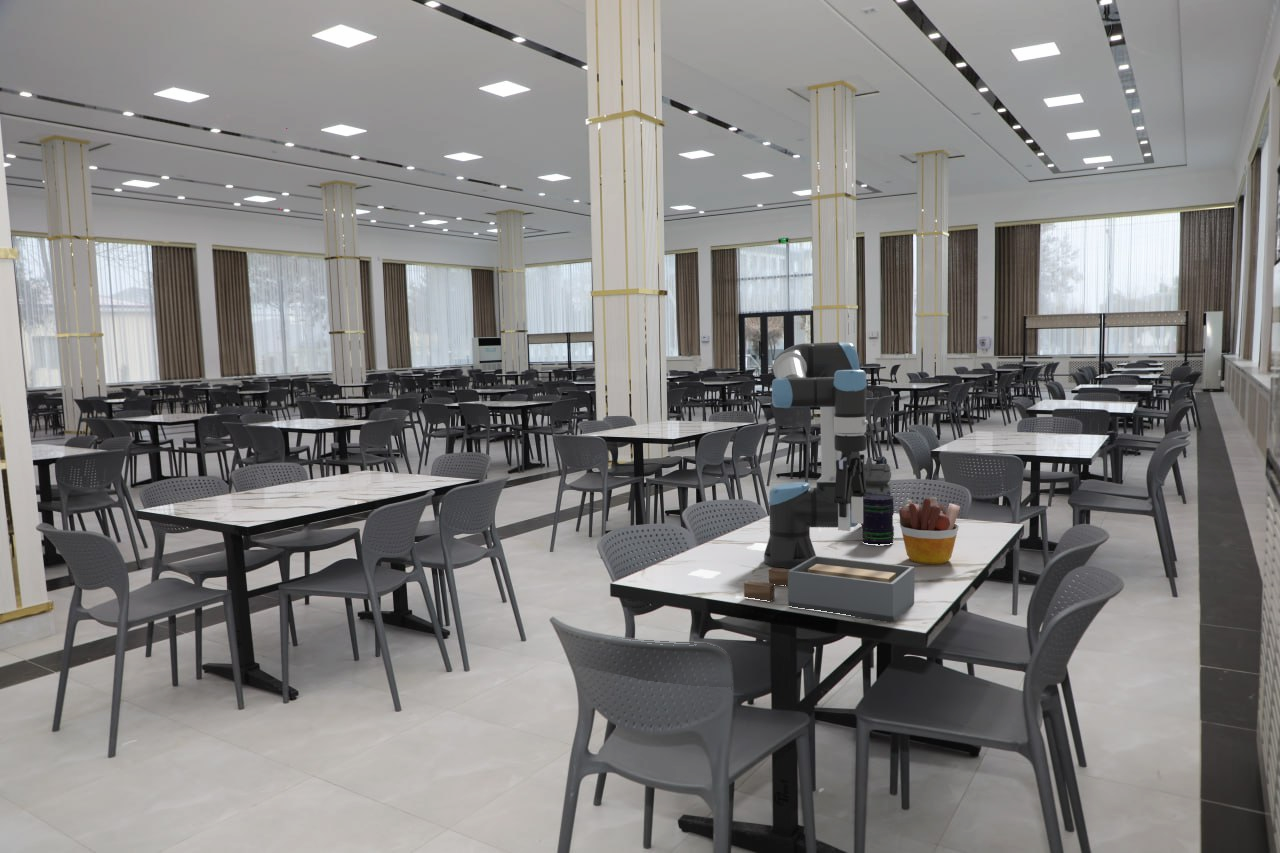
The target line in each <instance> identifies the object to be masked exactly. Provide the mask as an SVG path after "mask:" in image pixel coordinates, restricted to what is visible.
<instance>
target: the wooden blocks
mask: <svg viewBox="0 0 1280 853" xmlns="http://www.w3.org/2000/svg"><path fill="white" fill-rule="evenodd" d="M789 570H791V568H780V567H774V566H772V567H771V568H769V569H768V582H764V581H763V582H762V581H758V580H757V581H755V580H747V581H746V582H744V583H743V598H744V597H748V598H755V599H760V600H767V601H771V600H773V599H774V598H775V592H776V591H775V586H776V585H784V586H785V585H786V586H788V571H789ZM774 584H775V585H774ZM775 599H776V598H775ZM773 601H774V600H773ZM771 602H772V601H771Z"/></svg>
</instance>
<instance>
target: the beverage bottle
mask: <svg viewBox="0 0 1280 853" xmlns="http://www.w3.org/2000/svg"><path fill="white" fill-rule="evenodd" d="M872 459H873V458H872V457H867V458H866V462H865V463H864V468H865V481H866V493H867V495H889V496H892V495H891V493H892V492H891V491H892V490H891V485H890V484H888V483H890V480H891V478H892V472H891V466H890V465H889V463H888V462H887V461H888V460H887V458H886V457H885V456H882V455H881V456H878V457H877V458H876V459H873V460H872ZM872 461H873V462H872ZM861 525H862V526H863V524H860V526H861ZM862 526H861V527H862Z"/></svg>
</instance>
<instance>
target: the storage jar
mask: <svg viewBox="0 0 1280 853" xmlns="http://www.w3.org/2000/svg"><path fill="white" fill-rule="evenodd" d="M894 508H895V504H894V496H892V495H891V496H889V495H867V496H866V497H864V496H863V526H861V527H862V528H861V530H862V531H861V536H862V541H863V542H864V543H868V544H878V545H880V544H890V543H893V542H894V537H895V532H894V531H895V527H894V518H893V517H894V513H895V512H894Z"/></svg>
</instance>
